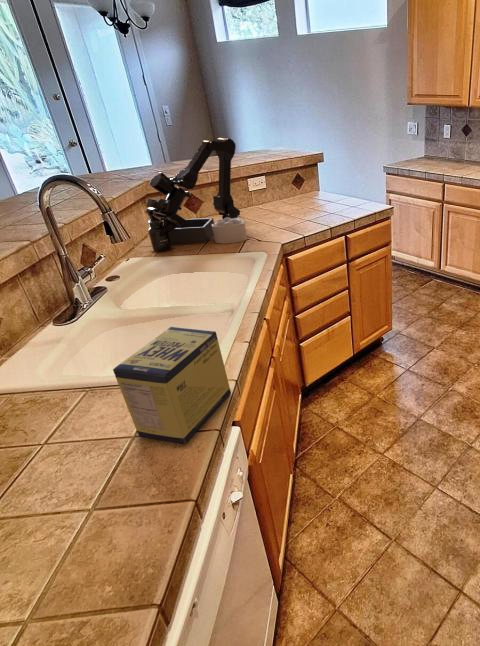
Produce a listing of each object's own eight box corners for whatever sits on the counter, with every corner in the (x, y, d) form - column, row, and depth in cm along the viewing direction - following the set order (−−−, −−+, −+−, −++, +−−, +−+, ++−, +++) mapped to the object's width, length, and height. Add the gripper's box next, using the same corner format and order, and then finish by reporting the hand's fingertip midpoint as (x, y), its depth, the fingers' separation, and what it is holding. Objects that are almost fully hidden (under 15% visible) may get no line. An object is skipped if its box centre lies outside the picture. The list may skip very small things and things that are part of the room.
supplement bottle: (167, 252, 172) (158, 223, 166) (150, 252, 172) (141, 223, 166) (175, 246, 178) (167, 218, 172) (159, 246, 178) (151, 218, 172)
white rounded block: (248, 240, 183) (244, 220, 179) (216, 245, 179) (211, 224, 175) (245, 233, 192) (241, 214, 188) (214, 238, 187) (209, 218, 183)
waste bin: (216, 232, 195) (213, 217, 192) (207, 242, 182) (204, 227, 179) (180, 233, 193) (176, 219, 190) (169, 244, 181) (165, 229, 178)
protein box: (232, 392, 92) (217, 330, 85) (186, 445, 78) (163, 376, 71) (189, 386, 94) (170, 325, 87) (137, 437, 80) (109, 369, 73)
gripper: (143, 187, 171) (123, 221, 168) (170, 192, 162) (150, 228, 159) (167, 203, 181) (149, 235, 178) (193, 208, 172) (175, 242, 169)
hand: (155, 235), depth 171 cm, fingers closed on supplement bottle, 7 cm apart
